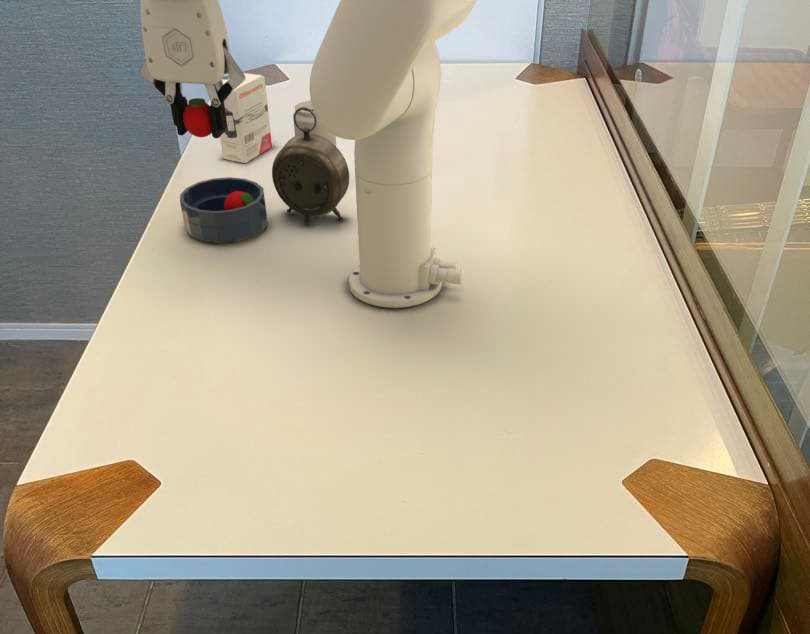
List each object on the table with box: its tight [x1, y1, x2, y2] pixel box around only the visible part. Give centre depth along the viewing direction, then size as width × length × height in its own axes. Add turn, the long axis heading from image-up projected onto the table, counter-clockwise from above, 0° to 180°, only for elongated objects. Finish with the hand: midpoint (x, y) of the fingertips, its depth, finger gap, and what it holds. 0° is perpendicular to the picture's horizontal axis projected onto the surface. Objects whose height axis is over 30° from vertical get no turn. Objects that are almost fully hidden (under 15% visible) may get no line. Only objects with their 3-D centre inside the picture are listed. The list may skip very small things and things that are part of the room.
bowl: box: [179, 176, 269, 243], centre depth 128 cm, size 12×12×5 cm
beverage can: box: [292, 100, 337, 147], centre depth 136 cm, size 6×6×12 cm
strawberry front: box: [224, 191, 254, 210], centre depth 128 cm, size 4×4×4 cm
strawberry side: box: [183, 97, 212, 138], centre depth 115 cm, size 4×4×4 cm
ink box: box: [219, 72, 273, 164], centre depth 146 cm, size 8×5×12 cm, turn 152°
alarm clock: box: [271, 107, 350, 227], centre depth 125 cm, size 11×5×16 cm, turn 73°
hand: (201, 131), depth 116 cm, fingers closed on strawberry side, 4 cm apart
